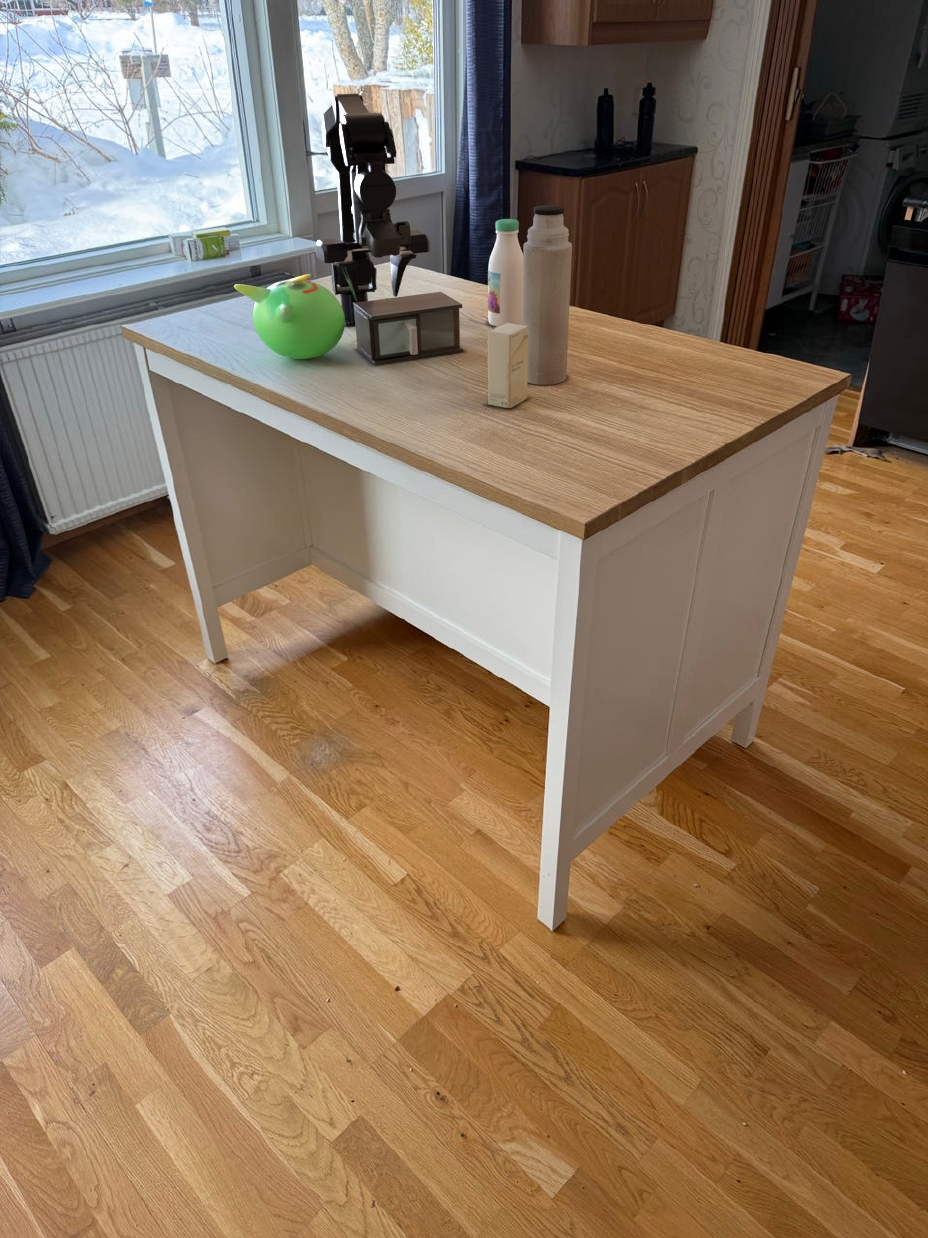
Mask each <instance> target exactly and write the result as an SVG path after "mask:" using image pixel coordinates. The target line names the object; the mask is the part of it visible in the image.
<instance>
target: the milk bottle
mask: <svg viewBox="0 0 928 1238" xmlns="http://www.w3.org/2000/svg"><path fill="white" fill-rule="evenodd" d="M519 226H520V223H519V220H518V219H513V218H502V219H498V220H496V221H495V233H496V239H495V242H494V246H493V249H492V251H491V253H490V255H489V260H488V270H487V316H488V317H487V318H488V319H487V321H488V323H489V324H490V325H491V326H495V327H498V326H500V325H502V324H504V323H512V324H519V325H522V311H523V251H522V247H521V246H520V242H519V238H518V233H520V232H519Z"/></svg>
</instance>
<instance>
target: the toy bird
mask: <svg viewBox="0 0 928 1238" xmlns="http://www.w3.org/2000/svg"><path fill="white" fill-rule="evenodd" d="M311 276H312V275H311V273H306V274H303V275H298V276H295V277H293V278H291V279H290V278H289V279H286V280H281V281H278V282H275V283H273V284H272V285H269V286H268V287H267V288H265V287H260V286H254V285H249V284H242V283H237V284H234V285H233V288H234V289H235V290H236V291H237V292H238V293H240V294H242V295H243V296H245V297H247V298H249V299H251V300H252V301H254V302H255V303H254V306H253V310H252V321H253V326H254V329H255V331H256V333H257V335H258V337H259V339H260V340H261V341H262V342H263V344H264V345H265V346H266V347H267V348H269V349H270V350H271V351H273V352H275V353H276V354H278V355H280V356H282V357H285V358H289V359H294V360H308V359H315V358H318V357H320V356H323V355H326V354H327V353H329V352H330V351H332V350H333V349H334V348H335V347H336V346H337V345H338V343H339V342H340V341H341V339H342V337H343V334H344V332H345V327H346V326H345V317H344V312H343V309H342V307H341V302H340V301H339V300H338V298H337V297H336V295H335V294H334V293H333V292H332V291H330V289H328V288H327V287H326V286H323V285H322V284H320V283H317V282H316V281H312V280H310V279H309V278H310V277H311ZM308 279H309V280H308Z"/></svg>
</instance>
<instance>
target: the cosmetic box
mask: <svg viewBox="0 0 928 1238" xmlns="http://www.w3.org/2000/svg"><path fill="white" fill-rule="evenodd" d="M487 386H488V387H487V395H488V396H487V403H488V405H489V406H494V407H499V408H502V409H503V408H504V409H512V408H513V407H515V406H517V405H518V404H521V403H522V402H523V401H525V400H526V399H528V326H527V325H522V324H521V325H519V324H512V323H504V324H502V325H500V326H495V327H494V328H492V329H490V330H488V331H487Z"/></svg>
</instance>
